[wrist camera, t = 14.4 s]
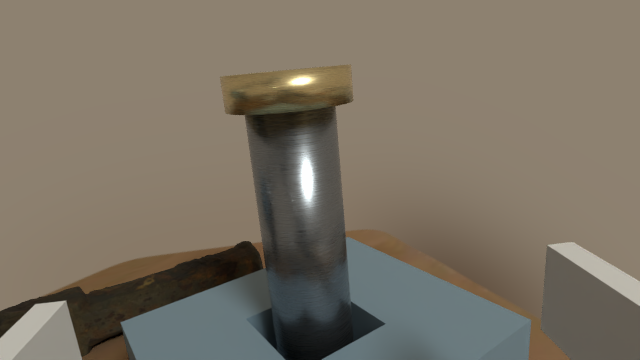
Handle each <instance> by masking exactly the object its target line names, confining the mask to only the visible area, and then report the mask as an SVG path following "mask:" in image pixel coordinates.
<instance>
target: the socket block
mask: <svg viewBox="0 0 640 360" xmlns="http://www.w3.org/2000/svg"><path fill="white" fill-rule="evenodd" d="M346 248H347V260H348V273H349V286H350V299H351V311H352V324H353V337H354V342H352V343H351V344H349V345H347V346H345V347H343V348H342V349H340V350H338V351H336V352H334V353H333V354H331V355H329V356H327V357H325V358H324V359H322V360H528V356H529V342H530V327H531V320H530V319H528V318H525V317H523V316H521V315H519V314H516V313H514V312H512V311H510V310H508V309H505V308H503V307H501V306H499V305H497V304H494V303H492V302H490V301H488V300H486V299H483V298H481V297H479V296H477V295H475V294H472V293H470V292H468V291H466V290H464V289H461V288H459V287H457V286H455V285H453V284H450V283H448V282H446V281H444V280H442V279H439V278H437V277H435V276H433V275H431V274H428V273H426V272H424V271H422V270H420V269H417V268H415V267H413V266H411V265H409V264H406V263H404V262H402V261H400V260H398V259H395V258H393V257H391V256H389V255H387V254H384V253H382V252H380V251H378V250H376V249H373V248H371V247H369V246H367V245H365V244H362V243H360V242H358V241H356V240H354V239H351V238H349V237H347V238H346ZM120 323H121V327H122V331H123V335H124V339H125V344H126V348H127V352H128V356H129V360H285V359H284V358H283V357H282V356H281V355H280V354H279V353H278V352H277V345H276V338H275V331H274V324H273V316H272V309H271V302H270V295H269V287H268V280H267V273H266V268H264V269H262V270H259V271H256V272H254V273H251V274H248V275H246V276H243V277H240V278H238V279H235V280H232V281H230V282H227V283H224V284H222V285H219V286H216V287H214V288H211V289H208V290H206V291H203V292H200V293H198V294H195V295H192V296H190V297H187V298H184V299H182V300H179V301H176V302H174V303H171V304H168V305H166V306H163V307H160V308H157V309H155V310H152V311H149V312H147V313H144V314H141V315H139V316H136V317H133V318H131V319H128V320H125V321H123V322H120Z"/></svg>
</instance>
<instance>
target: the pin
mask: <svg viewBox="0 0 640 360" xmlns="http://www.w3.org/2000/svg"><path fill="white" fill-rule="evenodd" d="M220 80H221V87H222V94H223V100H224V107H225V113H226V114H231V115H245V120H246V127H247V135H248V142H249V149H250V157H251V164H252V171H253V178H254V185H255V193H256V199H257V207H258V215H259V221H260V229H261V236H262V244H263V251H264V258H265V266H266V273H267V280H268V287H269V295H270V302H271V309H272V316H273V324H274V331H275V338H276V345H277V352H278V353H279V354H280V355H281V356H282V357H283V358H284V359H285V360H322V359H324V358H325V357H327V356H329V355H331V354H333V353H334V352H336V351H338V350H340V349H342V348H343V347H345V346H347V345H349V344H351V343H352V342H354V337H353V324H352V311H351V299H350V286H349V273H348V260H347V248H346V235H345V223H344V209H343V198H342V184H341V171H340V159H339V146H338V133H337V120H336V108H335V106H338V105H342V104H347V103H350V102H352V101H353V88H352V75H351V65H338V66H327V67H316V68H305V69H294V70H283V71H272V72H262V73H251V74H242V75H232V76H223V77H220Z"/></svg>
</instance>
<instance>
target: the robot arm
mask: <svg viewBox="0 0 640 360" xmlns="http://www.w3.org/2000/svg"><path fill="white" fill-rule="evenodd" d="M544 280H545V281H544V292H543V293H544V294H543V305H542V318H541V330H542V331H543V332H544V333H545V334H546V335H547V336H548V337H549V338H550V339H551V340H552V341H553V342H554V343H555V344H556V345H557V346H558V347H559V348H560V349H561V350H562V351H563V352H564V353H565V354H566V355H567V356H568V357H569V358H570V359H571V360H640V281H638V280H636V279H634V278H633V277H631V276H629V275H628V274H626V273H624V272H623V271H621V270H619V269H617V268H616V267H614V266H613V265H611V264H609V263H607V262H606V261H604V260H602V259H601V258H599V257H597V256H596V255H594V254H592V253H591V252H589V251H587V250H586V249H584V248H582V247H580V246H579V245H577V244H575V243H574V242H569V243H560V244H552V245H547V253H546V266H545V279H544ZM0 360H82V357H81V353H80V350H79V346H78V343H77V339H76V335H75V332H74V328H73V324H72V321H71V317H70V313H69V310H68V306H67V302H66V301H59V302H50V303H42V304H35V305H34V306H33V307H32V308H31V309H30V310H29V311H28V312H27V313H26V314H25V315H24V316H23V317H22V318H21V319H20V320H19V321H18V322H16V323H15V324H14V325H13V326H12V327H11V328H10V329H9V330H8V331H7V332H6V333H5V334H4V335H3V336H2V337H1V338H0Z"/></svg>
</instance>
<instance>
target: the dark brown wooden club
mask: <svg viewBox="0 0 640 360" xmlns="http://www.w3.org/2000/svg"><path fill="white" fill-rule="evenodd" d="M262 269H263V266H262V261H261V258H260V254H259V252H258V251H257V249H256V248H255V247H254V246H253V245H252V244H251V242H249V241H243V242H241V243H239V244H237V245H236V246H235V247H234V248H231V249H228V250H227V251H223V252H221V253H217V254H214V255H207V256H205V257H202V258H200V259H194V260H191V261H188V262H183V263H181V264H178V265H176V266H175V267H174V268H171V269H168V270H165V271H161V272H158V273H154V274H151V275H148V276H145V277H143V278H139V279H136V280H133V281H129V282H126V283H122V284H118V285H115V286H111V287H105V288H104V289H101V290H94V291H92V292H90V293H89V294H85V293H84V292H83V291H82V290H81V288H80V287H74V288H70V289H66V290H63V291H61V292H58V293H56V294H52V295H48V296H45V297H39V298H37V299H30V300H28V301H25V302H22V303H20V304H18V305H16V306H13V307H9V308H7V309H4V310H2V311H0V338H1V337H2V336H3V335H4V334H5V333H6V332H7V331H8V330H9V329H10V328H11V327H12V326H13V325H14V324H15V323H16V322H18V321H19V320H20V319H21V318H22V317H23V316H24V315H25V314H26V313H27V312H28V311H29V310H30V309H31V308H32V307H33V306H34V305H35V304H42V303H50V302H59V301H66V302H67V306H68V310H69V313H70V317H71V321H72V324H73V328H74V332H75V335H76V339H77V343H78V346H79V350H80V353H81V357H82V356H85V355H87V354H88V353H89V352H90V351H91V349H92V347H93V346H94V345H95V344H97V343H99V342H101V341H103V340H105V339H107V338H109V337H112V336H115V335H118V334H120V333H122V332H123V331H122V327H121V323H120V322H123V321H125V320H128V319H131V318H133V317H136V316H139V315H141V314H144V313H147V312H149V311H152V310H155V309H157V308H160V307H163V306H166V305H168V304H171V303H174V302H176V301H179V300H182V299H184V298H187V297H190V296H192V295H195V294H198V293H200V292H203V291H206V290H208V289H211V288H214V287H216V286H219V285H222V284H224V283H227V282H230V281H232V280H235V279H238V278H240V277H243V276H246V275H248V274H251V273H254V272H256V271H259V270H262Z"/></svg>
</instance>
